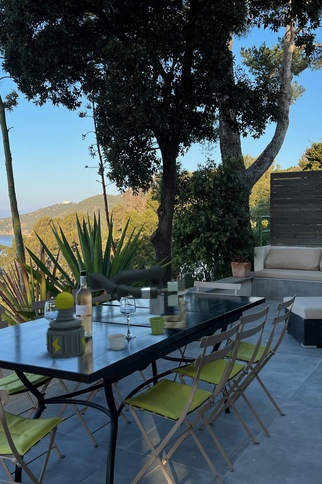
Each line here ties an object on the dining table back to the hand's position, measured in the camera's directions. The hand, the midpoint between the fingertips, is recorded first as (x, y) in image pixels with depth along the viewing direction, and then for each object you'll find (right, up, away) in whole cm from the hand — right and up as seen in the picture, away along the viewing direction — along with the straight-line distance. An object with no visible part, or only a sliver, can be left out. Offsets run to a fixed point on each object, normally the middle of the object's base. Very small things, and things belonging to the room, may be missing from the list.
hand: (177, 292), depth 301 cm
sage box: (-2, -8, 0) cm, 8 cm away
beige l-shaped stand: (-2, -20, +1) cm, 20 cm away
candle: (-32, -23, -55) cm, 67 cm away
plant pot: (-12, -21, -24) cm, 34 cm away
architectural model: (+5, -17, +73) cm, 75 cm away
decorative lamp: (-56, -24, -61) cm, 86 cm away
